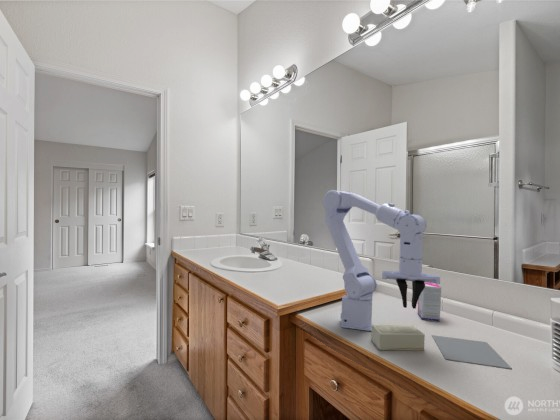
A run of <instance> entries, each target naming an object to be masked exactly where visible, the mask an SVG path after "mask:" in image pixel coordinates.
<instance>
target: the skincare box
mask: <svg viewBox="0 0 560 420" xmlns="http://www.w3.org/2000/svg"><path fill="white" fill-rule="evenodd" d="M370 332H371V334H370V335H371V336H370V337H371V339H370V340H371V342H372V343H373V344H374V346H375V347H376V348H377V349H378V350H379V351H425V339H426V338H425V333H424V332H422V331H421V330H420V329H419V328H417V327H416V326H415V325H414V324H413V325H410V324H406V325H403V324H402V325H401V324H400V325H399V324H398V325H395V324H393V325H392V324H390V325H389V324H373V325H372V331H370Z"/></svg>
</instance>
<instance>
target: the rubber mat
mask: <svg viewBox="0 0 560 420" xmlns="http://www.w3.org/2000/svg"><path fill="white" fill-rule="evenodd" d="M431 337H432V338H433V340H434V342H435V344H436V346H437V347H438V350H440V353H441V354H442V356H443V357H444V359H445V361H454V362H461V363H467V364H473V365H474V364H475V365H479V366H487V367H495V368H501V369H506V370H507V369H508V370H513V368H512V367H511V365H510V364H508V362H506V361H505V359H503V357H502V356H501V355H500V354H499V353H498V352H497V351H496V350H495V349H494V348H493V347H492V346H491V345H490V344H489V343H488V342H487V341H479V340H473V339H465V338H457V337H449V336H441V335H436V334H435V335H433V334H432V335H431Z"/></svg>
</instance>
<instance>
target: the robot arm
mask: <svg viewBox="0 0 560 420" xmlns="http://www.w3.org/2000/svg"><path fill="white" fill-rule="evenodd" d="M322 205H323V207H324V212H325V213H324V215H325V216H324V217H325V218H324V219H325V222H326V225H327V228H328V231H329V233H330V235H331V238H332V240H333V243H334V245H335V248H336V251H337V252H338V255H339V258H340V259H341V262H342V265H343V268H344V272H343V274H342V279H343V283H344V284H343V285H344V288H343V289H344V292H345V293H346V295H345V294H344V295H342V297H341V298H342V299H341V313H340V320H341V323H340V324H341V325H340V327H341V328H343V329H344V328H345V329H351V330H352V329H353V330H360V331H367V332H371V331H372V325H374V324H373V323H374V322H373V320H372V319H373V317H372V315H373V294H374V292H376V289H377V288H378V286H377V285H378V284H377V280H376V278H375V277H374V276H373V275H372V274H371V273H370V271H369V269H368V268H367V267H366V266H365V265H363V264H362V261H361V260H360V257H359V255H358V252H357V251H356V247H355V245H354V243H353V241H352V239H351V236H350V234H349V231H348V228H347V227H346V225H345V223H344V219H345V217H346V216H348V213H349V212H350V211H351V209H352V208H353V207H354V208H358V209H361V210H363V211H365V212H367V213H369V214H372V215H375V218H376V220H377V221H378V222H380V223H382V224H384V225H386V226H389V227H390V228H392V229H395V230H397V232H398V233H399V235H400V237H399V263H398V264H399V265H398V266H399V267H398V271H397V270H395V271H393V270H382V271H381V272H382V274H381V277H382V280H394V281H396V283H397V286H398V289H399V291H400V295H401V299H402V306H403V308H405V309H406V308H407V306H408V299H407V298H408V297H407V296H408V293H407V292H408V287H409V286H408V284H407V283H408V281H409V282H411V284H412V287H411V288H412V290H411V291H412V295H411V296H412V297H411V308H412V309H417V306H418V299H419V296H420V294H421V293H422V291H423V289H424V288H425V284H424V283H435V284H437V285H440V284H441V276H439V275H437V274H429V273H423V271H422V270H423V247H424V243H423V241H424V240H423V238H424V237H423V235H424V234H423V233H424V232H425V231H426V229H427V221H426V219H425V218H424V217H423V216H421V215H420V214H418V213H417V214H416V213H414V214H413V213H412V214H411V213H410V212H411V211H410V210H407V209H405V210H403V209H401V208H399V207H397V206H395V203H392V202H389V203H387V202H386V203H383V204H378V203H377V202H374V201H372V200H371V199H369V198H366V197H364V196H362V195H360V194H357V193H354V192H351V191H347V190H346V191H343V190H342V191H341V190H335V189H330V190H328V191H327V192H326V193H325V194H324V197H323V200H322Z"/></svg>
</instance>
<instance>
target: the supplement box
mask: <svg viewBox="0 0 560 420" xmlns="http://www.w3.org/2000/svg"><path fill="white" fill-rule="evenodd" d="M424 284H425V288H424V289H423V291H422V293H421V294H420V296H419V299H418V301H417V315H418V316H419V318H420V319H421V320H423V321H432V320H433V321H432V322H441V307H442V306H441V303H442V302H441V301H442V287H441V286H440V285H439V284H436V283H429V282H424Z"/></svg>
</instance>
